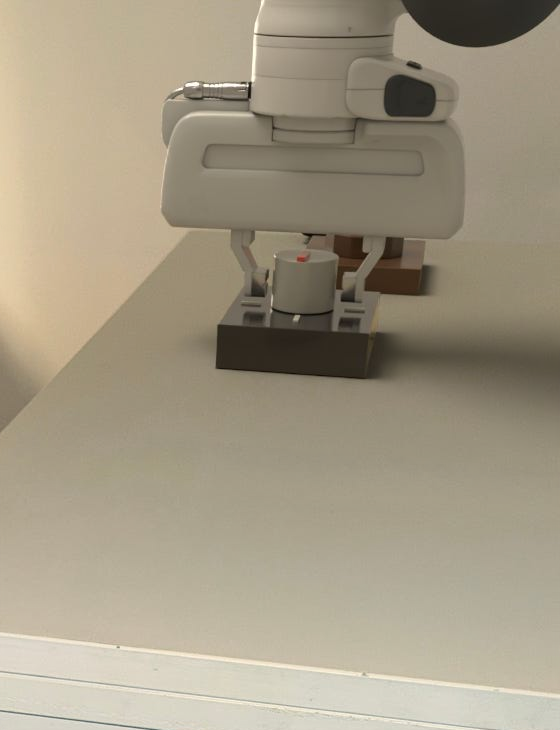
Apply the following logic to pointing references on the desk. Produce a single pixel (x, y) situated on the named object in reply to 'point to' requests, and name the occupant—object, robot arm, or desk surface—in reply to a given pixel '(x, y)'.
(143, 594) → the desk surface
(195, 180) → the robot arm
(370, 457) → the desk surface
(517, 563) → the desk surface
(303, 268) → the hob knob
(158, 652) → the desk surface
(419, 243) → the switch block
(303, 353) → the knob base
